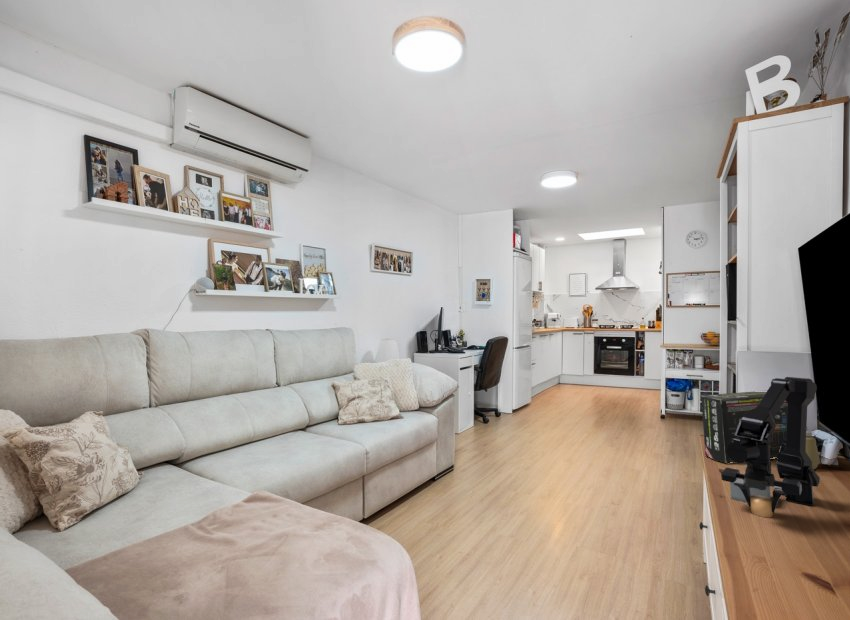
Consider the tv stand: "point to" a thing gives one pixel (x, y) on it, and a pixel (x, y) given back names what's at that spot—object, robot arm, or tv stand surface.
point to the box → (739, 495)
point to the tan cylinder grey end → (761, 506)
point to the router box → (734, 422)
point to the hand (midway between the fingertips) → (761, 509)
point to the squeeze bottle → (812, 449)
